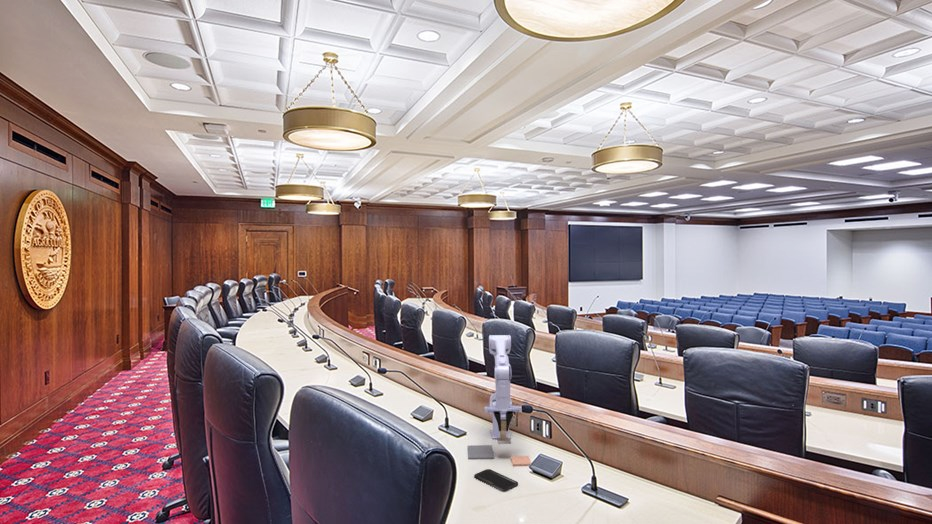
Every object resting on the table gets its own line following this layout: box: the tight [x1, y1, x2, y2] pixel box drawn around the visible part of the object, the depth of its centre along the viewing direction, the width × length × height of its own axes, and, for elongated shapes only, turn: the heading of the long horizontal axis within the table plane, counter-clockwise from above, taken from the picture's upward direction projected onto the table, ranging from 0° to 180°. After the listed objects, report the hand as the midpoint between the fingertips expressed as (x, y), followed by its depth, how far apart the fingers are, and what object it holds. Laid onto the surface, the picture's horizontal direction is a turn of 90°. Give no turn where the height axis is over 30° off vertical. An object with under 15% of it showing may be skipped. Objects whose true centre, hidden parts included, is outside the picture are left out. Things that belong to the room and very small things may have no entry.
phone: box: [473, 468, 519, 493], centre depth 156 cm, size 8×1×15 cm
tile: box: [510, 455, 532, 467], centre depth 171 cm, size 1×7×7 cm
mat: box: [467, 444, 495, 460], centre depth 180 cm, size 12×10×1 cm
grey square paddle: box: [496, 419, 512, 445], centre depth 176 cm, size 5×5×8 cm
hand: (503, 430), depth 177 cm, fingers closed on grey square paddle, 2 cm apart
